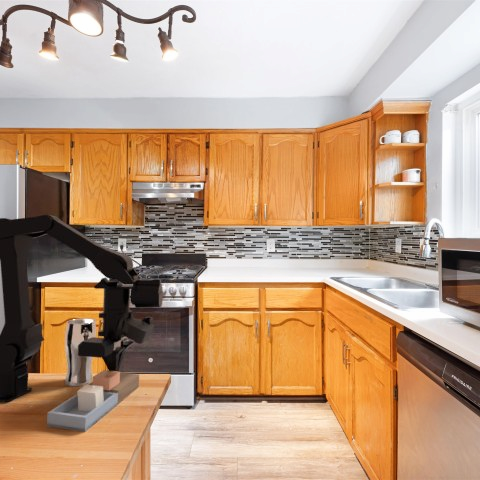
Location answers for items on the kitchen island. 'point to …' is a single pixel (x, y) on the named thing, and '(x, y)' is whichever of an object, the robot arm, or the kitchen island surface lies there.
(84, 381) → the beer glass
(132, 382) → the dark walnut board
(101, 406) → the slate tray
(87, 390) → the cream tile
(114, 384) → the terracotta tile
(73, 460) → the kitchen island surface
